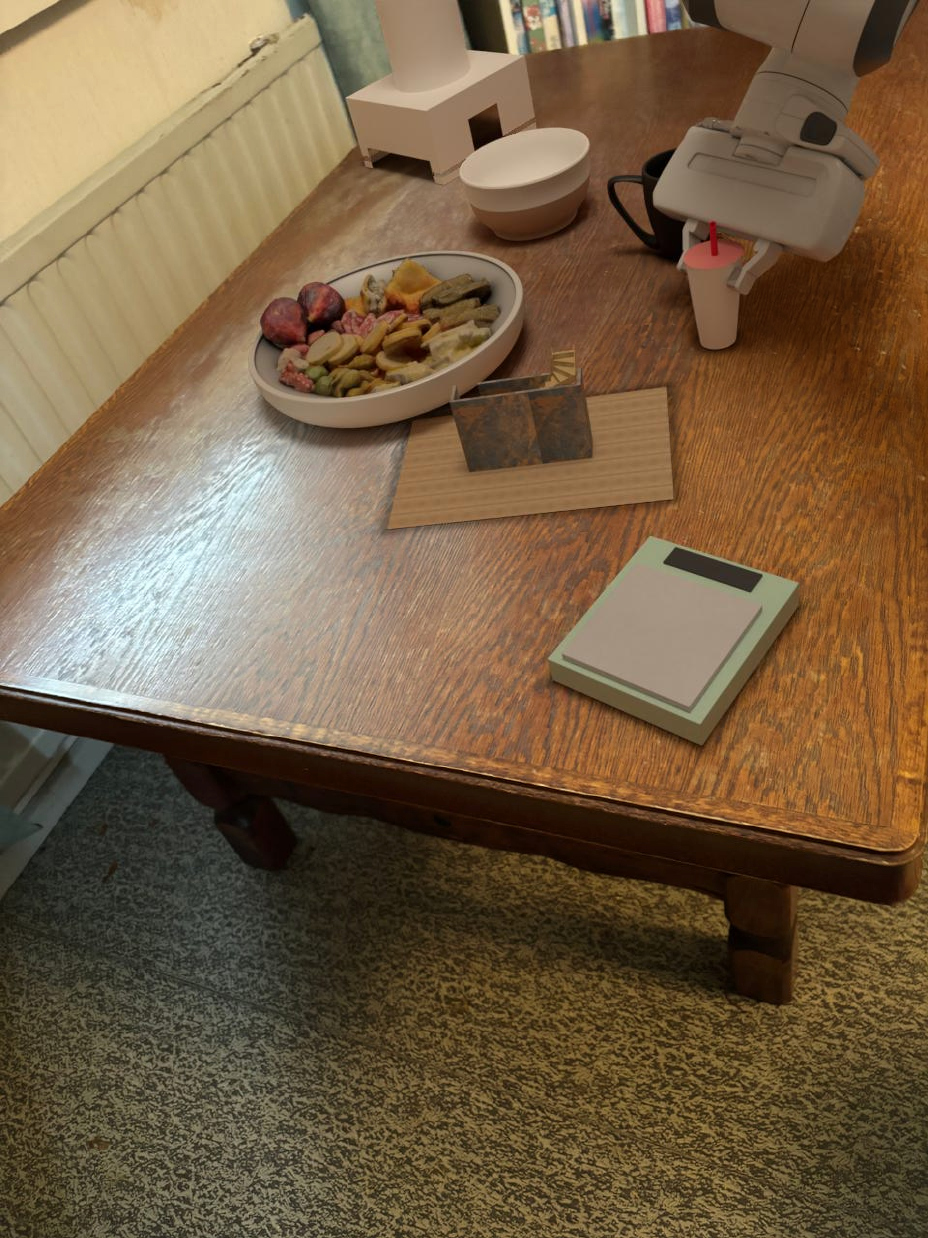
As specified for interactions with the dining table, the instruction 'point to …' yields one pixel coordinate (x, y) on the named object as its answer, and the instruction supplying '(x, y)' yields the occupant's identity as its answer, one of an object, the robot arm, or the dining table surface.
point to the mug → (652, 209)
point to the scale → (675, 637)
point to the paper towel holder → (435, 88)
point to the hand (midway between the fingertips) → (710, 282)
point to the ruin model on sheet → (535, 451)
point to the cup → (714, 289)
